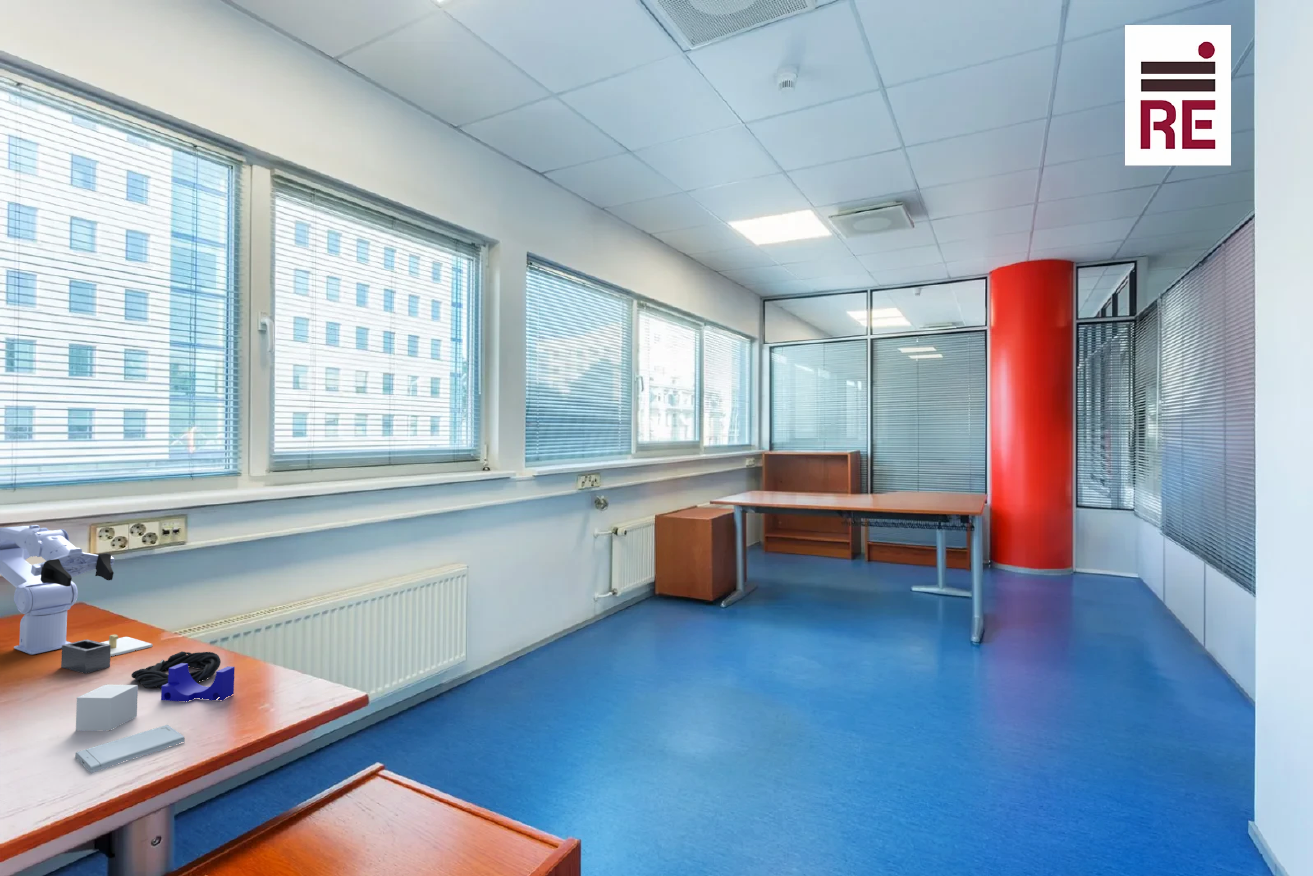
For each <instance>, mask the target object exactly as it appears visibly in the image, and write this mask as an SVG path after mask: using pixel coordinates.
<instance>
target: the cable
mask: <svg viewBox="0 0 1313 876" xmlns="http://www.w3.org/2000/svg"><path fill="white" fill-rule="evenodd" d="M180 663H187V664H188V666H190V667H194V668H201V669H197V670H195V671H191V672H189V673H190V675H191V677H192V678H193V680H194V681H195V682H198V683H200V682H199V681H202V680H205V681H207V680H208V679H207V678H209V679H211V678H212V676H214V674H216V671H218V669H219V668H220V666H221V658H220V656H219V654H217V653H215V652H214V651H213V652H211V651H203V652H199V651H198V652H193V653H192V652H188V651H187V652H186V651H179V652H176V653H174V654H172V655H170V656H169V657H168V658H167V660H165V659H161V661H159V662H157V663H156V664H155V665H150V666H148V667H146V668H140V669H138V670H135V671H133V672H132V673H131V678H132V679H134V682H135V683H137V682H140V685H143V687H144V688H154V687H156V688H157V689H161V686H162V685H165V684H167V683H168V673H167V672H163V671H165V670H164V669H166V670H169V668H171V667H173V666H176V665H178V664H180ZM190 667H189V668H190ZM194 668H193V669H194ZM206 679H207V680H206ZM202 682H203V681H202Z"/></svg>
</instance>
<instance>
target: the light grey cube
mask: <svg viewBox="0 0 1313 876" xmlns="http://www.w3.org/2000/svg"><path fill="white" fill-rule="evenodd" d="M138 689H139V686H138V684H103V685H101V686H99V687H97V688H95V689H92V690H91V691H88V692H86V693H84V694H82V695H80V696H78V697H76V711H75V712H76V713H75V714H76V715H75V731H77V730H80V731H82V732H87V730H91V731H92V732H98V731H97V730H103V732H107V731H106V730H111V729H113V728H115V727H116V728H118V727H120V726H121V725H120V724H122V723H124V724H125V722H126V721H127V722H129V721H131V720H132V719H135V718H136V717H137V716H138V694H139V693H138V691H139V690H138ZM130 719H131V720H130ZM128 720H129V721H128ZM127 722H126V723H127ZM119 725H120V726H119ZM122 725H123V724H122ZM117 726H118V727H117ZM116 728H115V729H116ZM113 730H114V729H113ZM80 731H79V732H80ZM91 731H90V732H91ZM111 731H112V730H111Z"/></svg>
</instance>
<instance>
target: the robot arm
mask: <svg viewBox="0 0 1313 876" xmlns="http://www.w3.org/2000/svg"><path fill="white" fill-rule="evenodd" d="M31 557H32V558H33V557H37V558H42V559H43V560H44V561H43V562H40V563H34V564H30V562H29V561H26V560H27V559H29V558H31ZM114 563H115V557H113V555H111V554H110V553H109V552H105V553H104V552H103V553H97V554H96V553H95V554H94V553H89V552H83V548H81V547H77V546H75V545H74V544H73V543H71V541H70V537H69V533H68V532H67V530H65V529H64V528H60V529H55V530H53V529H52V530H50V529H49V528H48V527H40V525H38V524H34V525H33V524H32V525H21V526H10V527H9V526H8V527H0V576H2V577H3V578H4V579H5V580H6V581H7V582H8V583H10V584H11V585H12V586H13V587H14V588H15V590H14V594H13V603H15V605H16V609H17V610H18V612H20V613H21V614H23V616H22V618H21V619H20V623H19V645H15V646H13V649H15V650H17V651H21V652H23V653H25V654H28V655H36V654H41V653H46V652H50V651H54V650H60V649H62V645H65V644H69V643H72V642H70V641H67V628H68V627H67V624H68V623H67V622H68V610H71V607H72V606H73V605H75V603H76V602H77V599H78V597H79V590H78V586H77V584H76V583H75V582H74V581H72V580H73V579H72V578H73V577H77V576H79V575H82V574H85V573H87V572H89V571H93V570H95V577H101V578H103V579H104V580H106V581H112V580H113V579H114V578H113V577H114V574H115V573H114V571H113V568H112V567H114Z"/></svg>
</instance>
